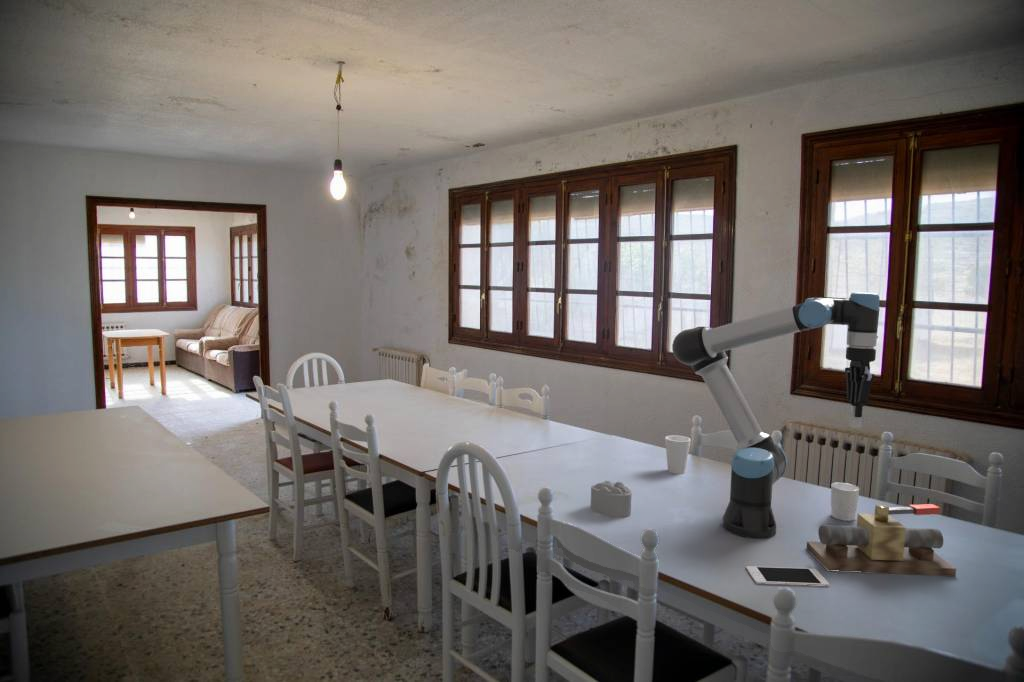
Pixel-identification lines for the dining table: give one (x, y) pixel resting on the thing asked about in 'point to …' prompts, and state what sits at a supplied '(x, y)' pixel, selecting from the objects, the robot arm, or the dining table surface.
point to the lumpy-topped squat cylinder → (611, 499)
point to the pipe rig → (880, 548)
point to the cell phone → (787, 575)
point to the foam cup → (677, 453)
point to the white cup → (844, 501)
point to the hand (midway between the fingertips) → (855, 427)
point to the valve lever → (904, 511)
